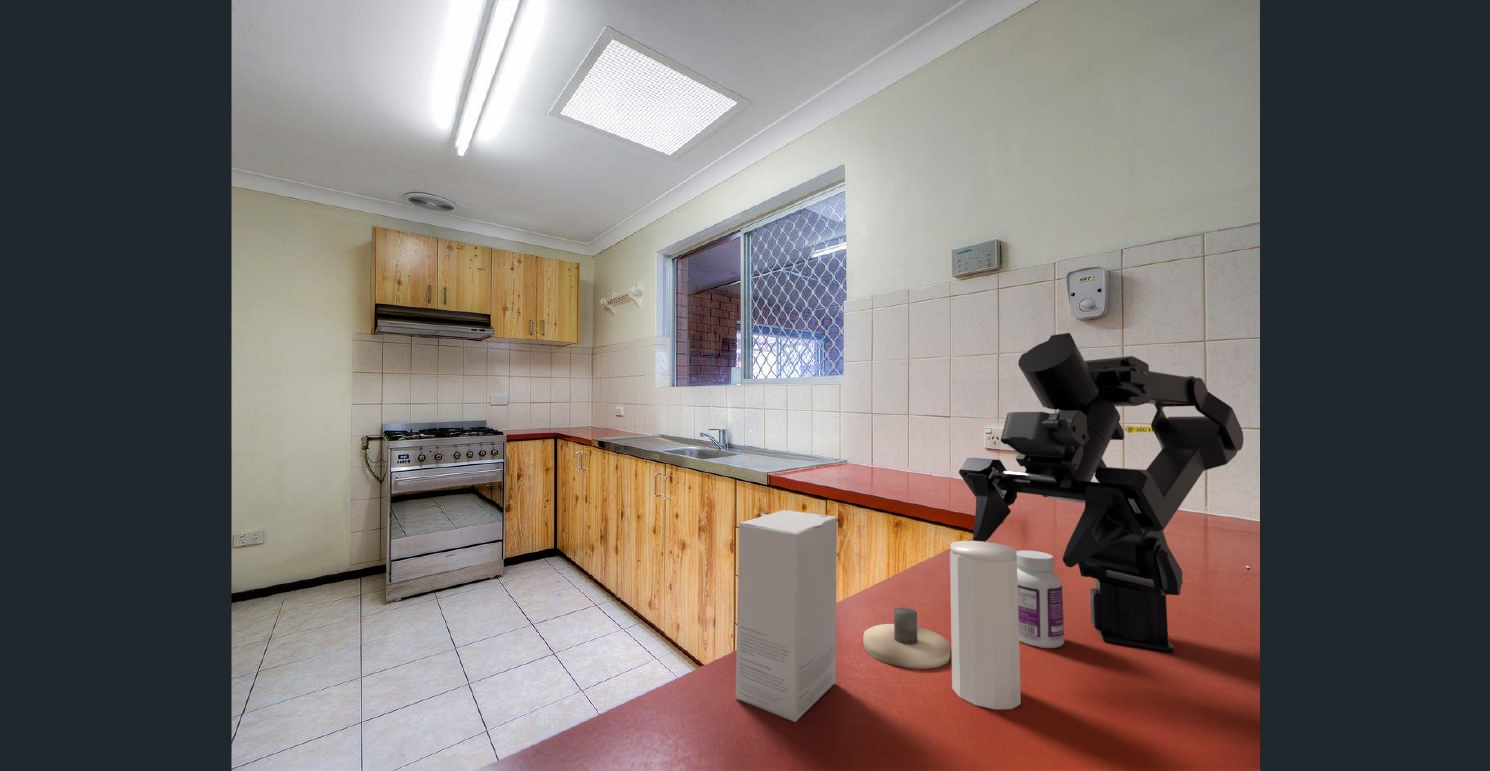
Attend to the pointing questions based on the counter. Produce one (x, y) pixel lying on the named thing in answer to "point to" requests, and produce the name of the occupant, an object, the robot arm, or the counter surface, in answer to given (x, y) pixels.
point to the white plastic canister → (985, 624)
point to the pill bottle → (1039, 600)
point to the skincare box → (786, 611)
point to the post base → (906, 643)
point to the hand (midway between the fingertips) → (1017, 552)
